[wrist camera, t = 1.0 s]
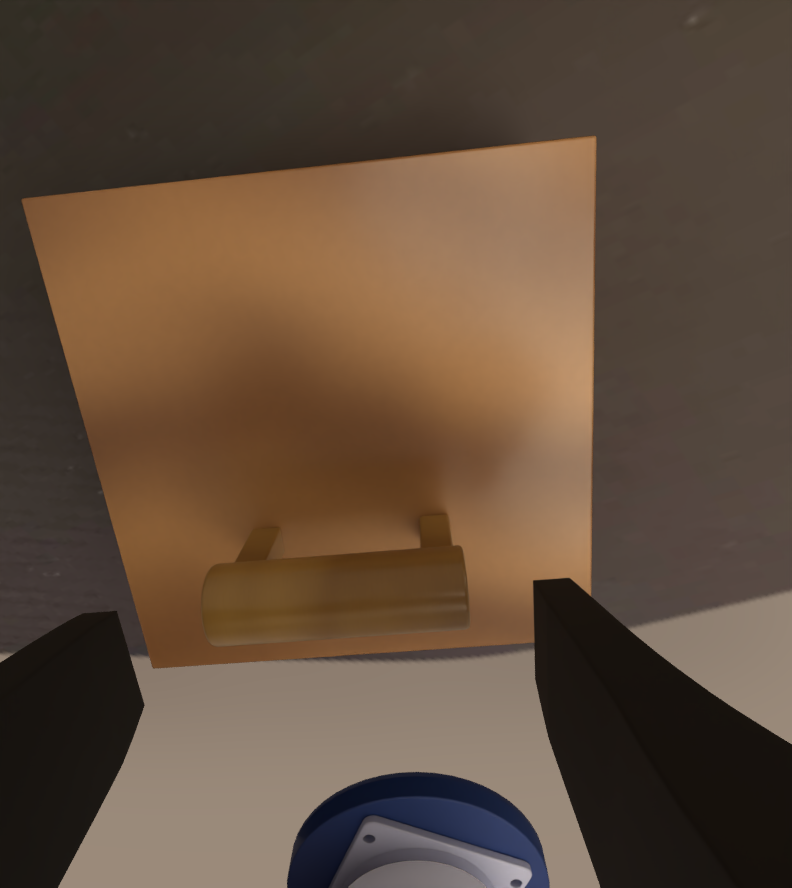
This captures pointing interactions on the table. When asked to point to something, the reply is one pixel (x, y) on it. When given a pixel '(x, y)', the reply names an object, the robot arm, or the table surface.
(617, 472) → the table surface
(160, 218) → the brown piece
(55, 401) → the table surface
